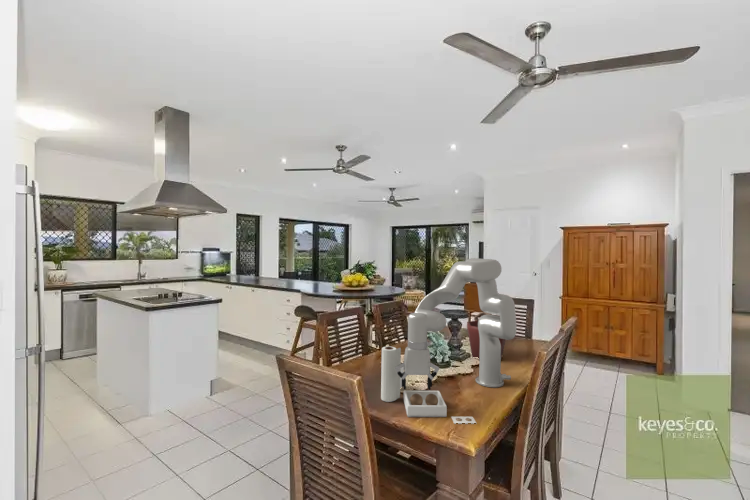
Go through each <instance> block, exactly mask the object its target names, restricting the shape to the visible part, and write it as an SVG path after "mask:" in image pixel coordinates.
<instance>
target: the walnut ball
mask: <svg viewBox="0 0 750 500" xmlns="http://www.w3.org/2000/svg"><path fill="white" fill-rule="evenodd" d="M410 403H411V405H422V403H423V398H422V396H421V395H419V394H413V395H412V396H411V398H410Z"/></svg>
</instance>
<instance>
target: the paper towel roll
mask: <svg viewBox="0 0 750 500" xmlns="http://www.w3.org/2000/svg"><path fill="white" fill-rule="evenodd" d="M401 348H402V347H398V348H396V347H394V346H383V347H381V367H380V368H381V371H380V373H381V374H380V376H381V377H380V378H381V379H380V383H381V384H380V399H381V401H383V402H387V403H389V402H390V403H391V402H394V401H396V400H398V399H400V398H401V390H400V376H399V375H398V374H397V372H396V370H395V366H397V365H399V364H401V363H402V362H401V361H402V360H401V359H402V357H401V355H402V349H401ZM399 370H400V372H401V369H399Z"/></svg>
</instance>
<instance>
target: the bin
mask: <svg viewBox="0 0 750 500" xmlns="http://www.w3.org/2000/svg"><path fill="white" fill-rule="evenodd" d="M413 394H419V395H421V396H422V398H423V403H422V405H411V403H410V398H411V396H412V395H413ZM428 394H435V395H436V396H437V398H438V404H437V405H427V404H426V402H425V398H426V396H427V395H428ZM403 403H404V408H405V412H406V416H407V418H447V417H448V416H447V412H448V411H447V410H448V409H447V408H448V407H447V404H446V402H445V400H444V398H443V395H442V394H441V392H440V390H403Z"/></svg>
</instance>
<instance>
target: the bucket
mask: <svg viewBox="0 0 750 500" xmlns="http://www.w3.org/2000/svg"><path fill="white" fill-rule="evenodd" d="M483 315H493V314H490V313H486V312H483V311H482V312H479V313H478V314H476V315H475V316H474V318H473V320H471V321H467V322H466V329H467V334H468V340H469V341H468V342H469V347H470V353H472V354H471V356H472V358H473V357H478V358H479V357H480V337H479V330H478V320H479V318H480V317H481V316H483ZM499 341H500V344H501V358H503V353H504V348H505V344H506V341H507V340H506V339H501V338H499Z"/></svg>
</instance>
